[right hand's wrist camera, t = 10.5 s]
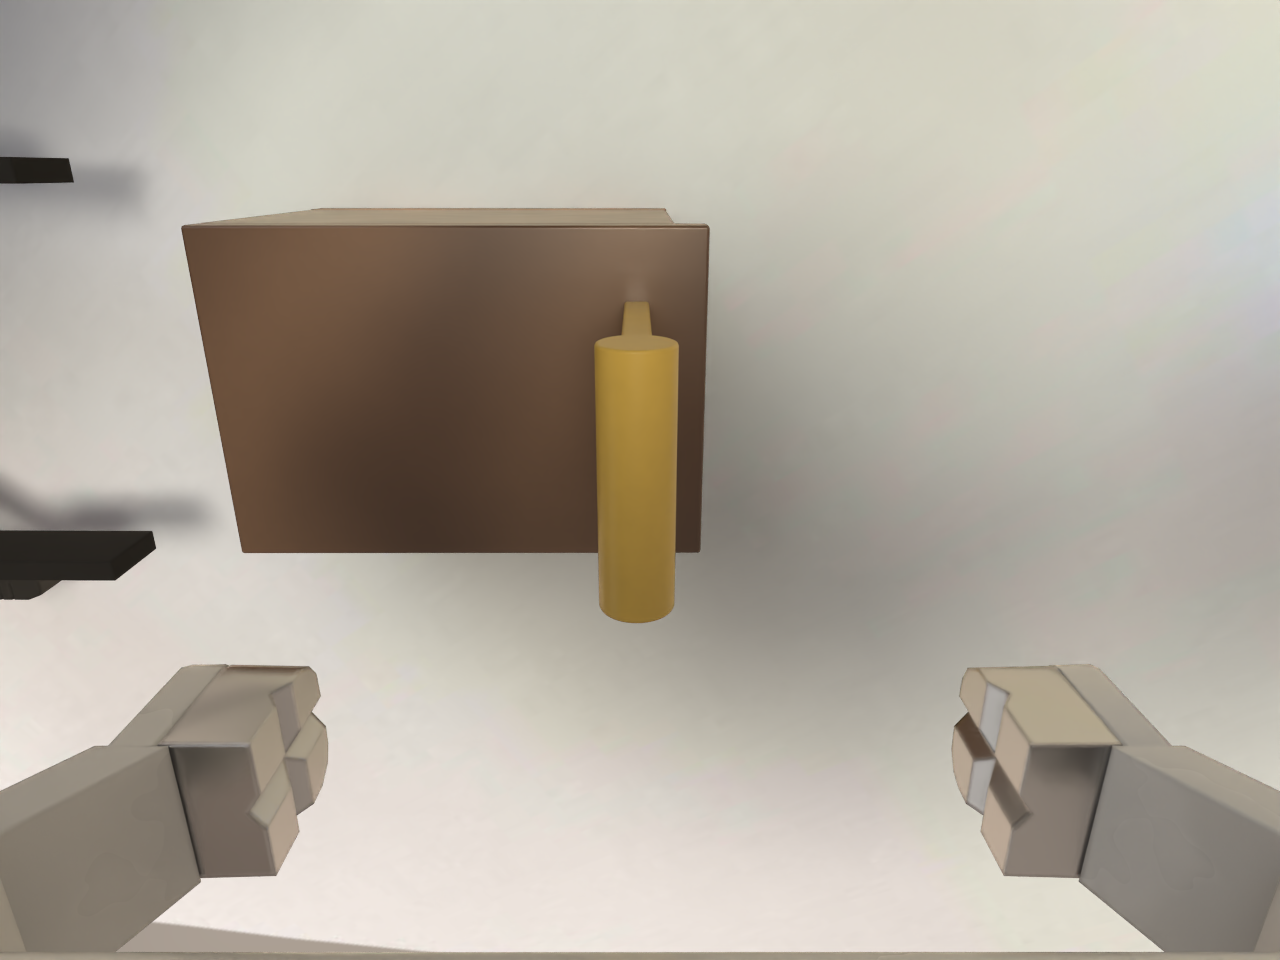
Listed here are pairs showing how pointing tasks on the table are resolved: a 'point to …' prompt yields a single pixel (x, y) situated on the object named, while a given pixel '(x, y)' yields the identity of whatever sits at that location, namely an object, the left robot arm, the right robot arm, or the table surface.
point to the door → (463, 390)
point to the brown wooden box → (468, 216)
